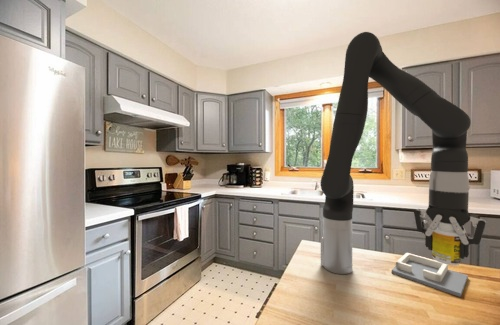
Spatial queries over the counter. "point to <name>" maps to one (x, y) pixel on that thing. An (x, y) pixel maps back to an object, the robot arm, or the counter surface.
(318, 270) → the counter surface
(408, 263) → the grey board with frame
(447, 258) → the supplement bottle
